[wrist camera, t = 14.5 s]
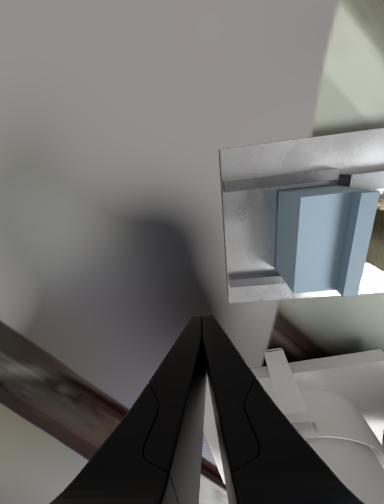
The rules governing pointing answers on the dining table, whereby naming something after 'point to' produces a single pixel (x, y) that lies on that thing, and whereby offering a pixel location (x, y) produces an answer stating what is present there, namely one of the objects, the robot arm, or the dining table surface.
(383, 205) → the block
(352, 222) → the block
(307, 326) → the dining table surface
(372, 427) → the recessed light fixture
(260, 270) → the seat jig
